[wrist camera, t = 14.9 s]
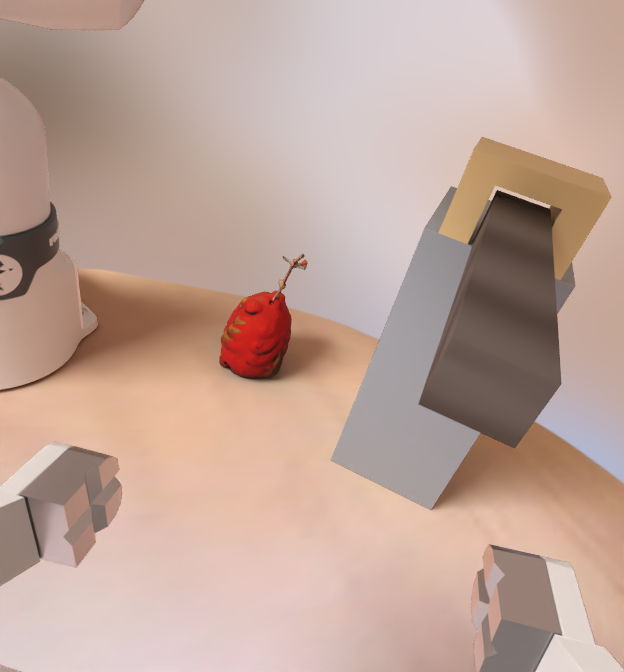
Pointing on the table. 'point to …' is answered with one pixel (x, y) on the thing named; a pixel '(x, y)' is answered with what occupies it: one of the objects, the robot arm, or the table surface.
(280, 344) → the red clay folk toy
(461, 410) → the block
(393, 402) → the post
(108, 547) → the table surface
